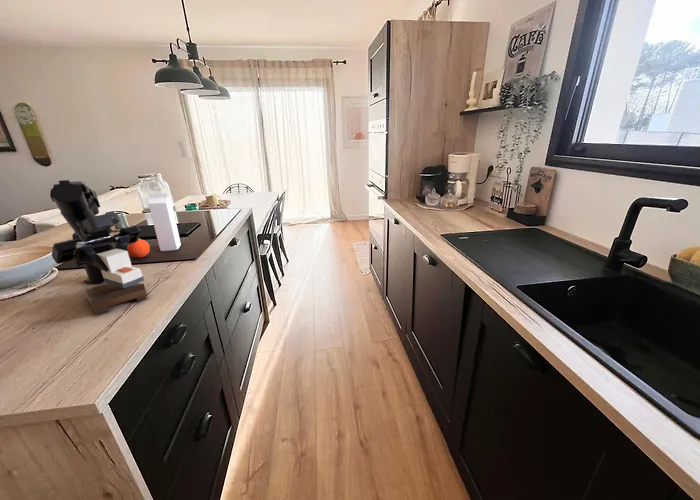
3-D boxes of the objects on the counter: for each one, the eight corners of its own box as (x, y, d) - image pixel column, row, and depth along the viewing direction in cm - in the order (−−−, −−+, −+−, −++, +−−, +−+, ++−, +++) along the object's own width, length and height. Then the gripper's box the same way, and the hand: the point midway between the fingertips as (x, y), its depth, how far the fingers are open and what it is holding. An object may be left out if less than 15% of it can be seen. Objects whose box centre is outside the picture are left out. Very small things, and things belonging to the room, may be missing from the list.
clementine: (133, 254, 109) (127, 236, 107) (154, 251, 112) (149, 234, 109) (127, 261, 102) (121, 243, 100) (150, 258, 105) (145, 240, 102)
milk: (177, 250, 113) (164, 194, 106) (160, 251, 112) (145, 195, 104) (181, 245, 119) (169, 191, 111) (164, 246, 117) (151, 192, 109)
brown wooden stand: (87, 299, 78) (81, 284, 76) (135, 285, 85) (131, 271, 84) (96, 315, 70) (90, 299, 69) (148, 298, 78) (143, 283, 76)
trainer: (103, 281, 78) (93, 254, 75) (124, 274, 82) (116, 247, 79) (123, 288, 74) (114, 260, 71) (144, 280, 78) (136, 253, 75)
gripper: (38, 210, 65) (79, 263, 64) (128, 197, 81) (161, 239, 80) (36, 239, 71) (74, 287, 70) (120, 221, 87) (151, 261, 86)
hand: (119, 267), depth 77 cm, fingers closed on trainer, 5 cm apart
